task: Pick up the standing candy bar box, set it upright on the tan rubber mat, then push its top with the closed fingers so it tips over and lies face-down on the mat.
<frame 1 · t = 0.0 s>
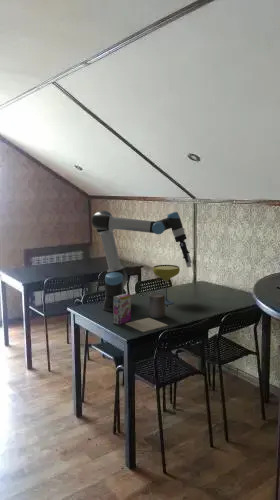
hand: (189, 265, 297), 28 cm above the table, tool tilted 20°, fingers open, 13 cm apart
mat: (146, 325, 261), on the table
pillar candle: (156, 316, 278), on the table
candy bar box: (122, 322, 266), on the table
cocktail glass: (166, 302, 309), on the table
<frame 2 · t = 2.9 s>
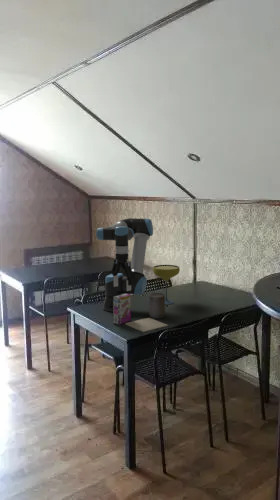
hand: (122, 288, 263), 21 cm above the table, tool pointing down, fingers open, 13 cm apart
nothing on the table moved.
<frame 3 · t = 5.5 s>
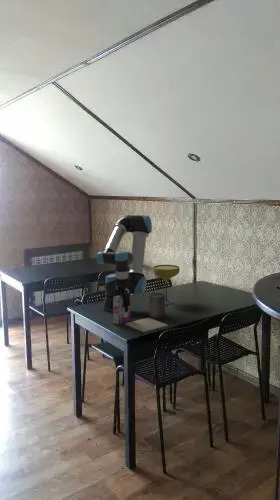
hand: (122, 315, 266), 4 cm above the table, tool pointing down, fingers closed on candy bar box, 6 cm apart
candy bar box: (122, 322, 266), on the table, touching gripper
everything else where it was.
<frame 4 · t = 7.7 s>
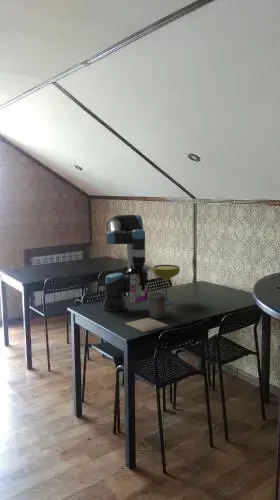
hand: (139, 294, 264), 17 cm above the table, tool pointing down, fingers closed on candy bar box, 6 cm apart
candy bar box: (139, 301, 264), point 13 cm above the table, touching gripper
everything else where it was.
when the fingers open (5 cm above the table, at t = 10.3 s): candy bar box stays where it is, resting on mat.
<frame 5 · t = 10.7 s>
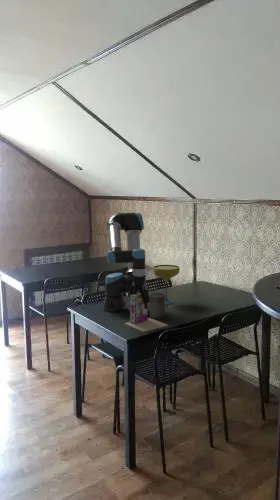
hand: (139, 311, 265), 7 cm above the table, tool pointing down, fingers open, 11 cm apart
candy bar box: (139, 321, 266), resting on mat
everything else where it was.
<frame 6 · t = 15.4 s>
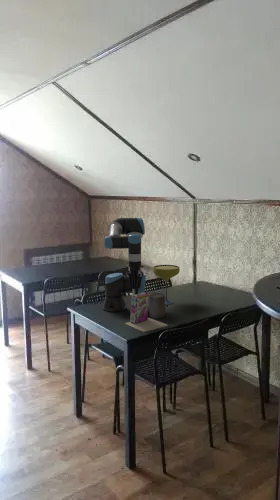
hand: (135, 299, 267), 13 cm above the table, tool pointing down, fingers closed
candy bar box: (139, 321, 266), point 1 cm above the table, touching gripper, mat
everything else where it was.
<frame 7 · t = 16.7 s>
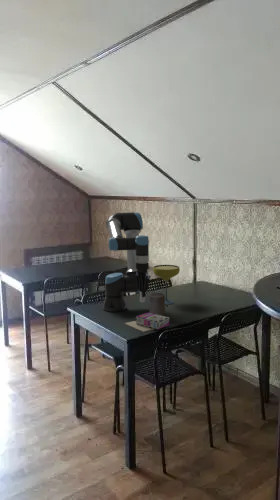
hand: (142, 302, 261), 13 cm above the table, tool pointing down, fingers closed
candy bar box: (141, 318, 264), point 3 cm above the table, touching mat
everything else where it was.
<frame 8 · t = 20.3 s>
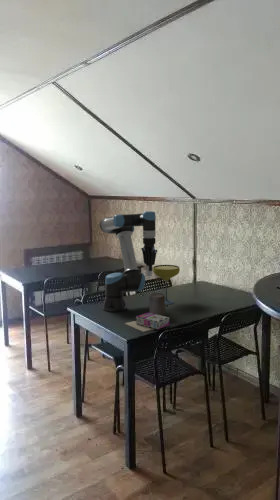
hand: (149, 275, 270), 26 cm above the table, tool pointing down, fingers closed
nothing on the table moved.
at the end: candy bar box tilted 89°; candy bar box inside the target area on the mat (5.9 cm from its centre), point 2.9 cm above the mat's base; the gripper is holding nothing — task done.
